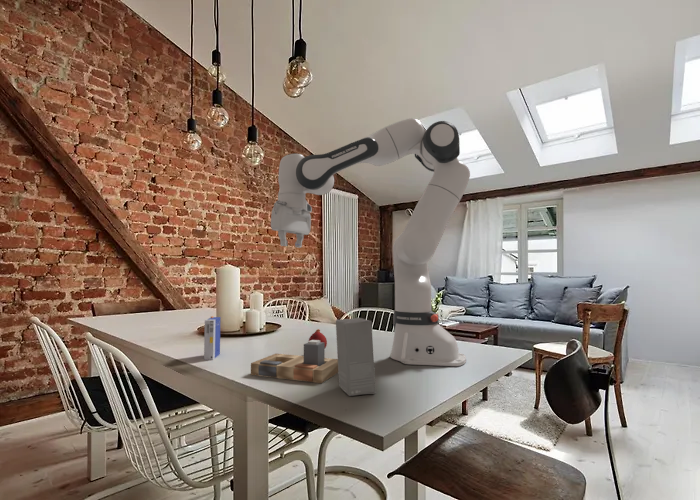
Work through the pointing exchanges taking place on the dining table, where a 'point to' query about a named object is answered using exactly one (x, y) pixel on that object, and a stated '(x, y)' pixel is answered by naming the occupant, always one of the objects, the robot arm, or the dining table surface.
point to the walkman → (212, 338)
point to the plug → (314, 352)
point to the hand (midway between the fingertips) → (291, 246)
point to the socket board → (294, 368)
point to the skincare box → (355, 356)
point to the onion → (318, 337)
